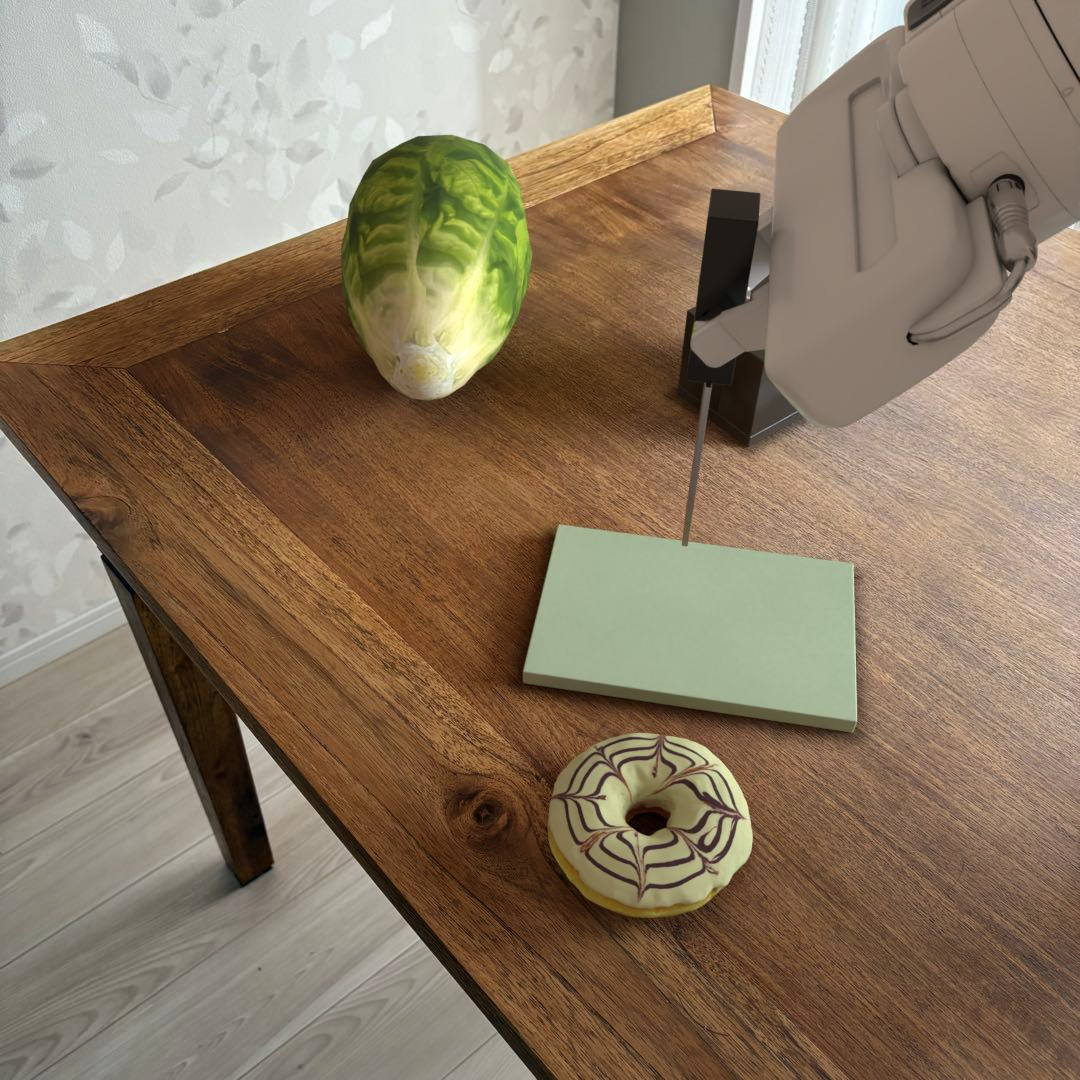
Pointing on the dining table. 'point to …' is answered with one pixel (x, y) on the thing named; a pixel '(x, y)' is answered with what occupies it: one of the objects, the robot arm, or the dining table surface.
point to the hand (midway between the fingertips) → (703, 322)
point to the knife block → (739, 394)
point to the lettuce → (435, 262)
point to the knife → (720, 296)
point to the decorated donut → (669, 854)
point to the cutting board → (697, 627)
